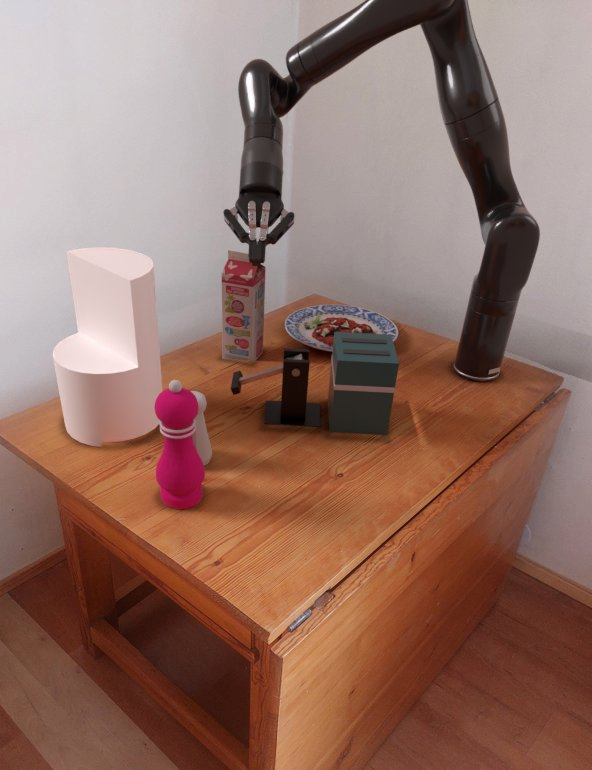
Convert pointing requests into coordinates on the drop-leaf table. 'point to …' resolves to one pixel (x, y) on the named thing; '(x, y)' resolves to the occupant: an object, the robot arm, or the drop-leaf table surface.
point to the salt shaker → (201, 431)
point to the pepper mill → (178, 448)
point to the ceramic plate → (335, 324)
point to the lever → (256, 375)
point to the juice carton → (242, 308)
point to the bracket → (294, 395)
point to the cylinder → (110, 347)
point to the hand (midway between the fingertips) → (256, 264)
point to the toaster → (362, 383)
